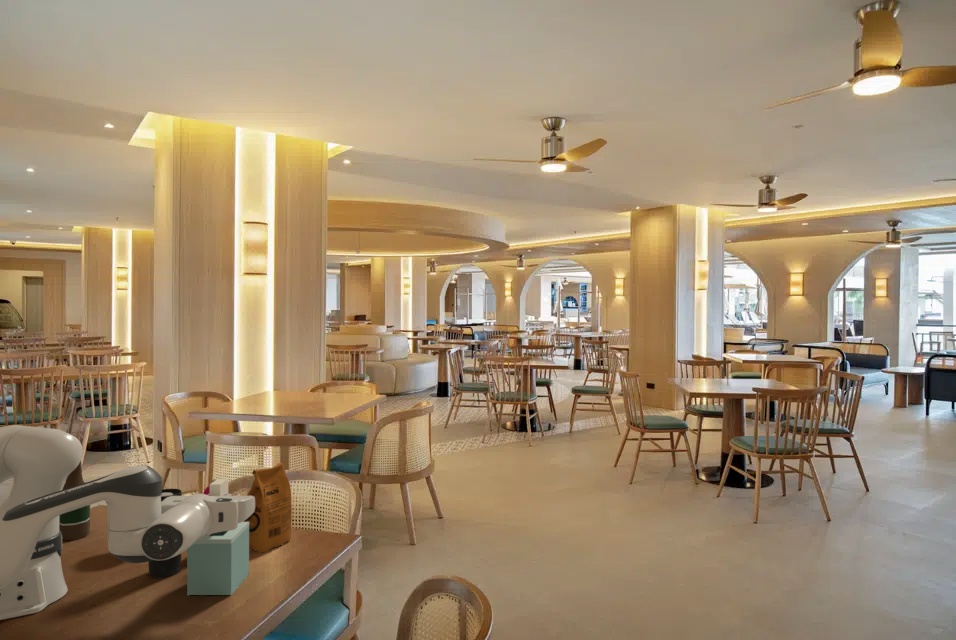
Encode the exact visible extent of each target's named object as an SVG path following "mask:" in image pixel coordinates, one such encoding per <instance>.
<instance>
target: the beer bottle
mask: <svg viewBox="0 0 956 640" xmlns="http://www.w3.org/2000/svg"><path fill="white" fill-rule="evenodd" d="M82 469H83V467H82V460H81V461H80V463H79V465H78V466H77V467H76V468H75V470H73V471H72V472H71V473H70V474H69V475H68V477H67V479H66V481H65V484H64V486H63V490H64V489H67V488H70V487H74V486H77V485H80V484H83V483H86V482H85V481H84V478H83V473H82V472H83V471H82ZM59 530H60V531H61V535H62V541H63V540H70V541H76V540H75V539H77V540H79V538H81V539H84V538H86V537H87V536H89V534H90V530H91V505H88V506H85V507H82V508H79V509H76V510H73V511H70V512H66V513H63V514H61V515H59ZM83 537H84V538H83Z"/></svg>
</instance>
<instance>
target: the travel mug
mask: <svg viewBox="0 0 956 640" xmlns="http://www.w3.org/2000/svg"><path fill="white" fill-rule="evenodd" d="M170 496H183V493H182V490H181V489H180V488H162V495H161V502H162V501H163V500H164V499H165V498H167V497H170ZM181 569H182V553H181V554H179V555H177V556H175V557H172V558H170V559H166V560H153V561H149V562H148V575H149V577H151V578H152V579H153V578H154V579H162V578H163V579H164V578H167V577H171V576H174V575H177V574H178V573H180V571H181Z"/></svg>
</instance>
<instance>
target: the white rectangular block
mask: <svg viewBox="0 0 956 640" xmlns="http://www.w3.org/2000/svg"><path fill="white" fill-rule="evenodd" d="M216 479H217V480H216V481H214V482H213V483H212V482H211V483H209V486H210V496H223V495H224V494H229V478H216Z"/></svg>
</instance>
